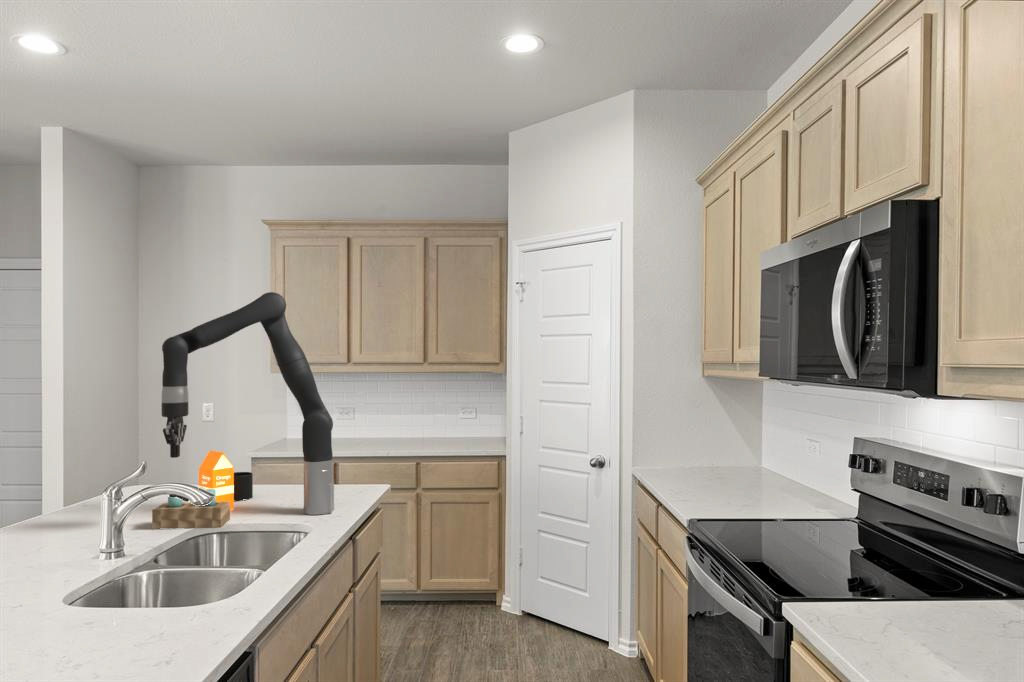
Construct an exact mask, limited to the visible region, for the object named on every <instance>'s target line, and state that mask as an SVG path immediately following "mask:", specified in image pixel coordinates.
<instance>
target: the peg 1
mask: <svg viewBox="0 0 1024 682" xmlns="http://www.w3.org/2000/svg"><path fill="white" fill-rule="evenodd" d="M167 503H168V508H175V507H182V503H183V499H182V500H180V499H177V498H171V497H168V496H167Z"/></svg>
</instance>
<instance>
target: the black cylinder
mask: <svg viewBox="0 0 1024 682" xmlns="http://www.w3.org/2000/svg"><path fill="white" fill-rule="evenodd" d="M253 481H254V480H253V472H250V471H236V472H234V500H243V499H249V498H251V499H253V497H254V496H253V494H254V493H253V492H254V491H253V490H254V489H253V487H254V486H253V485H254V483H253ZM249 500H250V499H249Z"/></svg>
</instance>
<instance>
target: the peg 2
mask: <svg viewBox="0 0 1024 682" xmlns="http://www.w3.org/2000/svg"><path fill="white" fill-rule="evenodd" d="M206 490H207V491H209V492H211V493H213V494H214V495H215V498H214V500H213V501H212V502H211V503H210V504H208V505H205V506H202V507H209V506H216V489H206Z"/></svg>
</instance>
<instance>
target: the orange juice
mask: <svg viewBox="0 0 1024 682" xmlns="http://www.w3.org/2000/svg"><path fill="white" fill-rule="evenodd" d="M234 470H235V469H234V466H233V464H232V463H231V462H230V460H229V459H228V458H227V455H226V454H225V453H224V452H222V451H216V450H215V451H214V450H209V451H208V453H207V454H206V456H205V458H204V459H203V461H202V462H201V464H200V466H199V467H198V488H199V487H203V488H205V489H216V502H226V501H230V510H231V509H235V508H234V507H235V506H234V503H235V501H234V473H235V472H234Z"/></svg>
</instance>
